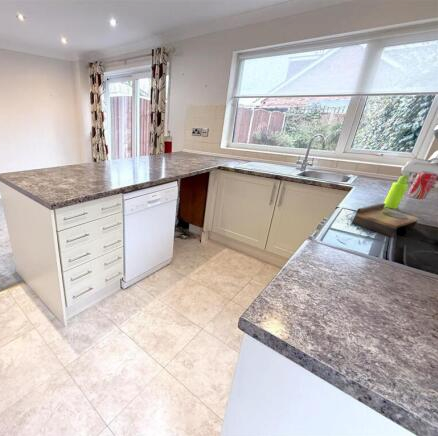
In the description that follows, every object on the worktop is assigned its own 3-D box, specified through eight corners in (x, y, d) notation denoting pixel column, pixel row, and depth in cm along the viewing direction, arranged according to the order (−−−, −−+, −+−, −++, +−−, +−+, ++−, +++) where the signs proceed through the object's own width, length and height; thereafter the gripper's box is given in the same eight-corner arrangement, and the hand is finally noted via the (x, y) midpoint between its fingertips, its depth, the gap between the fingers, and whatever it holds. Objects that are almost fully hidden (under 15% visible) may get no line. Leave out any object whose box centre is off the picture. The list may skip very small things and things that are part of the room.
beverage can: (404, 194, 118) (416, 170, 113) (422, 197, 115) (435, 172, 110) (408, 198, 113) (421, 172, 108) (427, 201, 110) (441, 174, 105)
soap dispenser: (397, 210, 130) (416, 173, 122) (381, 206, 135) (398, 170, 127) (400, 208, 133) (419, 172, 125) (384, 204, 138) (401, 169, 130)
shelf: (413, 228, 108) (421, 214, 106) (390, 236, 99) (398, 221, 96) (376, 216, 120) (382, 203, 117) (351, 222, 110) (358, 208, 108)
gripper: (411, 153, 118) (393, 174, 117) (477, 161, 101) (455, 186, 101) (411, 162, 121) (393, 183, 121) (474, 171, 105) (453, 195, 104)
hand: (421, 184), depth 111 cm, fingers closed on beverage can, 6 cm apart
